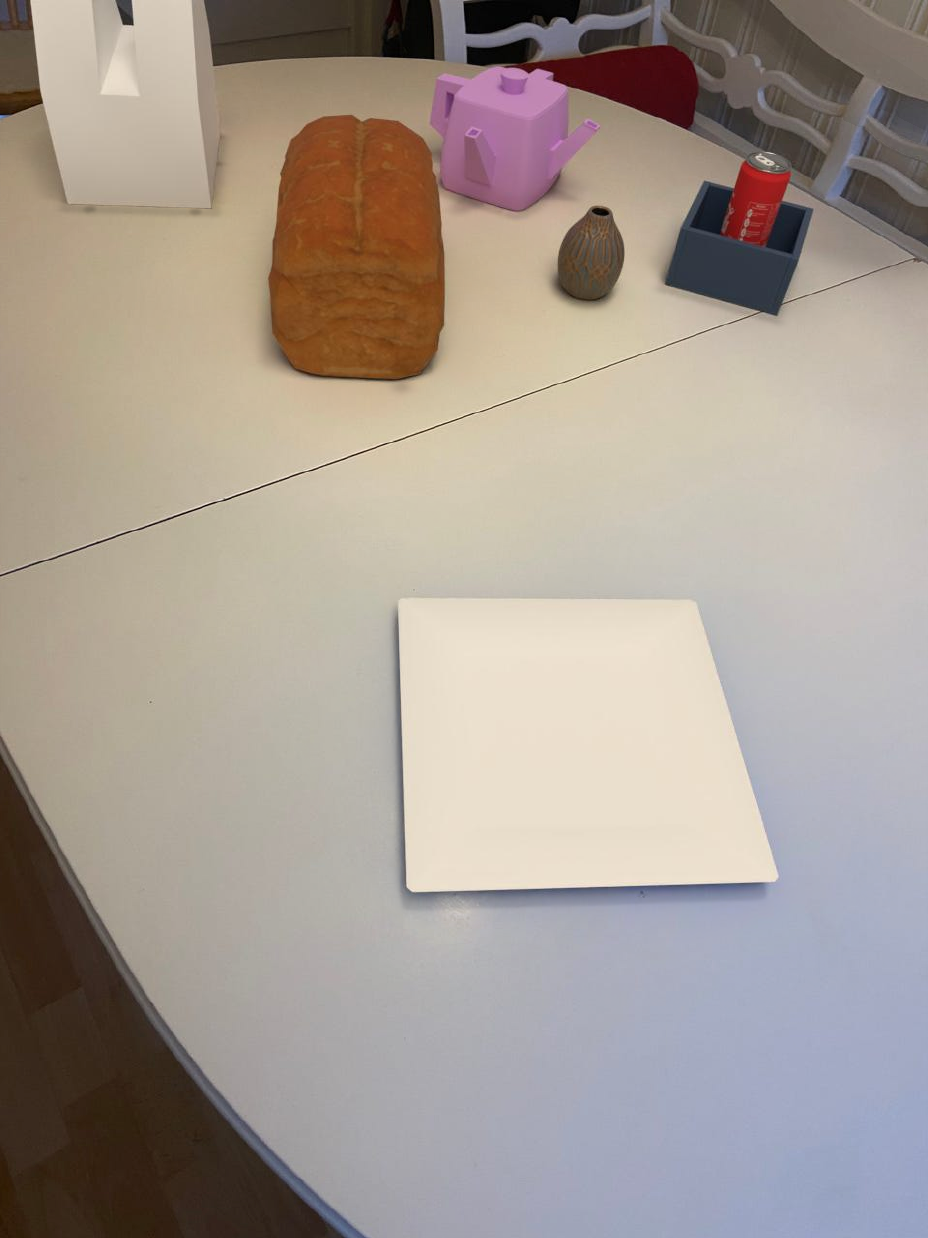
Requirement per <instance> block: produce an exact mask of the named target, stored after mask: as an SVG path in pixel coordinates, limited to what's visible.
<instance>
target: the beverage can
mask: <svg viewBox="0 0 928 1238" xmlns="http://www.w3.org/2000/svg"><path fill="white" fill-rule="evenodd" d="M791 170H792V163H791V162H790V161H789V160H788V159H787V158H786V157H784V156H782V155H779V154H777V153H774V152H769V151H752V152H750V153H748V154H747V155H746V157H745V160H744V161H743V162H742V163H741V165H740V168H739V170H738V174H737V177H736V180H735V183H734V187H733V188H734V190H733V193H732V196H731V199H730V203H729V206H728V209H727V212H726V215H725V219H724V222H723V225H722V228H721V231H720V235H722V236H725V237H729V238H733V239H737V240H740V241H744V242H748V243H752V244H755V245H759V246H763V247H766V244H767V241H768V238H769V235H770V233H771V230H772V227H773V224H774V221H775V219H776V216H777V213H778V210H779V207H780V205H781V202H782V201H783V199H784V196H785V193H786V190H787V188H788V185H789V182H790V180H791V177H792V173H791Z"/></svg>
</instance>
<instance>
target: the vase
mask: <svg viewBox="0 0 928 1238" xmlns="http://www.w3.org/2000/svg"><path fill="white" fill-rule="evenodd" d="M625 254H626V253H625V243H624V239H623V236H622V233H621V232H620V230H619V228H618V226H617V223H616V222H615V219H614V214H613V211H612V210H611V209H610V208H608V207H606V206H603V205H593V206H591V207H589V209H587V211H586V213H585V214H584V215H583V216H582V217H581V218H580V219H578V220H577V222H575V223H574V224H573V225H572V226H571V227H570V228H569V229H568V231H567V232H566V233H565V235H564V236H563V239H562V241H561V243H560V246H559V250H558V254H557V262H556V263H557V264H556V265H557V274H558V278H559V281H560V283H561V285H562V286H563V288H564V289H565V291H566V292H567V293H568V294H570V296H573V297H575V298H577V299H580V300H584V301H585V300H586V301H587V300H588V301H591V300H597V299H600V298H601V297H603V296H604V295H606V294H608V293H609V292H610V291H611V290H613V288H614V287H615V285H616V284H617V282H618V280H619V278H620V277H621V274H622V271H623V268H624V264H625V263H624V262H625Z"/></svg>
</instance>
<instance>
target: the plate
mask: <svg viewBox="0 0 928 1238" xmlns="http://www.w3.org/2000/svg"><path fill="white" fill-rule="evenodd" d="M397 617H398V618H397V619H398V647H399V648H398V649H399V679H400V680H399V682H400V683H399V684H400V715H401V716H400V717H401V718H400V719H401V740H402V741H401V749H402V780H403V783H402V784H403V786H402V787H403V815H404V844H405V845H404V846H405V848H404V849H405V877H406V878H405V880H406V881H405V882H406V883H405V884H406V888H407V889H408V890H409V891H410V892H411V893H430V892H431V893H433V892H435V893H436V892H437V893H438V892H465V891H500V890H501V891H503V890H504V891H505V890H535V889H536V890H537V889H539V890H540V889H569V888H570V889H571V888H572V889H573V888H577V889H578V888H605V887H606V888H607V887H608V888H609V887H639V886H641V887H644V886H674V885H675V886H677V885H680V886H681V885H709V884H710V885H711V884H716V885H717V884H745V883H746V884H747V883H748V884H749V883H775V882H776V881H777V880H778V879H779V878H780V876H779V872H778V869H777V866H776V862H775V859H774V855H773V853H772V848H771V845H770V843H769V839H768V836H767V833H766V830H765V825H764V822H763V818H762V816H761V812H760V808H759V806H758V802H757V800H756V796H755V793H754V789H753V785H752V782H751V779H750V776H749V773H748V769H747V766H746V763H745V759H744V757H743V753H742V749H741V745H740V743H739V740H738V736H737V732H736V730H735V727H734V722H733V719H732V716H731V713H730V710H729V709H730V708H729V706H728V703H727V699H726V696H725V693H724V690H723V687H722V683H721V679H720V676H719V673H718V669H717V666H716V662H715V660H714V656H713V653H712V650H711V647H710V643H709V639H708V637H707V633H706V629H705V627H704V623H703V620H702V617H701V613H700V610H699V607H698V603H697V602H696V601H694V600H693V599H681V598H680V599H677V598H676V599H675V598H674V599H671V598H670V599H669V598H668V599H667V598H666V599H663V598H658V599H657V598H655V599H654V598H653V599H652V598H650V599H649V598H525V597H524V598H523V597H522V598H521V597H520V598H518V597H517V598H511V597H509V598H508V597H507V598H505V597H500V598H499V597H498V598H497V597H401V598H400V599H398V600H397Z"/></svg>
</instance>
